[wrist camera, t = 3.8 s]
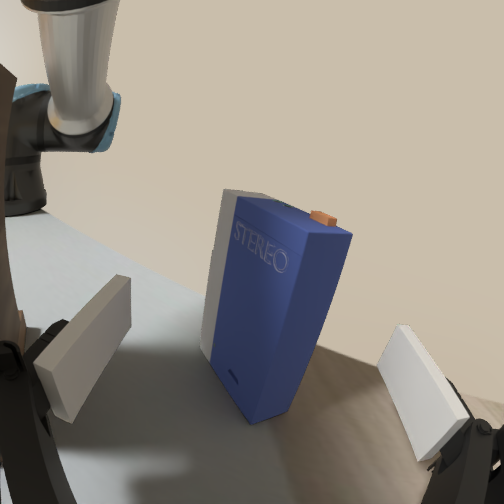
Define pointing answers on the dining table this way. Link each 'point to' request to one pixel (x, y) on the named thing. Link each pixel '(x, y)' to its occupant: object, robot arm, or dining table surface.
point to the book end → (3, 299)
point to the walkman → (268, 297)
